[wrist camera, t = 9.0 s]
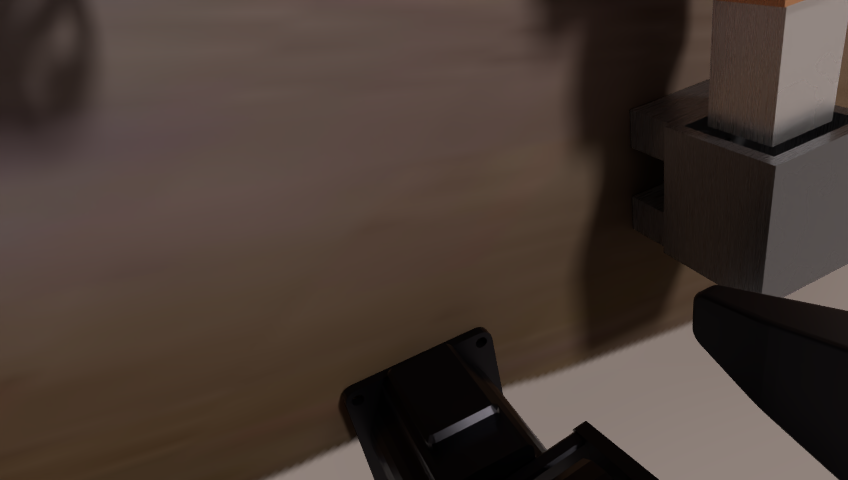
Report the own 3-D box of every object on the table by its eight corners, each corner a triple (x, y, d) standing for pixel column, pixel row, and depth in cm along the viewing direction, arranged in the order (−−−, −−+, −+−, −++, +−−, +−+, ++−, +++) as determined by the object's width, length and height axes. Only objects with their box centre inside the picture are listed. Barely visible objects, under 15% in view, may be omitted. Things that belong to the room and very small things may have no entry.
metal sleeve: (709, 194, 27) (856, 259, 22) (627, 230, 26) (760, 309, 21) (715, 76, 25) (885, 117, 19) (623, 112, 23) (776, 166, 18)
